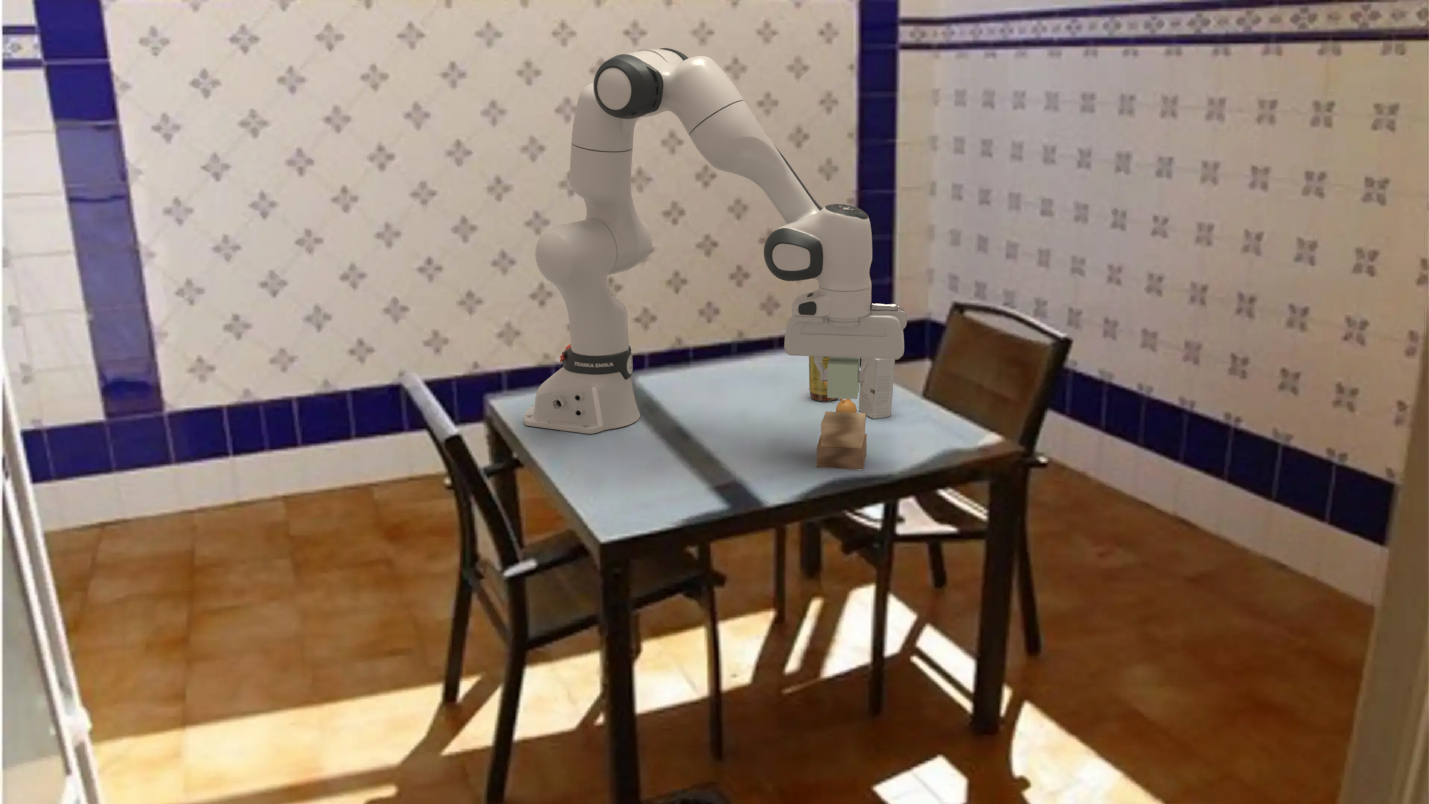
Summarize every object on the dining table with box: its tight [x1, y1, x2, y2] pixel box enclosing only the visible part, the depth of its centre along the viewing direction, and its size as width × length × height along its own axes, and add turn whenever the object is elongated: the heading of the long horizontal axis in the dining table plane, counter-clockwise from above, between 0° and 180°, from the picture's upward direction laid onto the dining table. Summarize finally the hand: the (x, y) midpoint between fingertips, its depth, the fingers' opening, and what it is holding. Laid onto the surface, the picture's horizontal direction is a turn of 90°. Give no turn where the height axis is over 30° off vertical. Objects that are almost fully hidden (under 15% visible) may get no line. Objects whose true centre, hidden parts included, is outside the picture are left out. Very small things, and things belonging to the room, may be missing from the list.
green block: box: [827, 357, 861, 400], centre depth 203 cm, size 5×5×6 cm
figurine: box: [824, 368, 858, 413], centre depth 227 cm, size 8×6×12 cm
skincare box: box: [858, 358, 896, 419], centre depth 230 cm, size 6×4×12 cm
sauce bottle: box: [808, 356, 839, 403], centre depth 238 cm, size 7×6×20 cm
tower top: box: [820, 411, 867, 449], centre depth 206 cm, size 7×7×4 cm
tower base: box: [816, 433, 868, 471], centre depth 208 cm, size 8×8×4 cm
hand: (843, 381), depth 204 cm, fingers closed on green block, 5 cm apart
